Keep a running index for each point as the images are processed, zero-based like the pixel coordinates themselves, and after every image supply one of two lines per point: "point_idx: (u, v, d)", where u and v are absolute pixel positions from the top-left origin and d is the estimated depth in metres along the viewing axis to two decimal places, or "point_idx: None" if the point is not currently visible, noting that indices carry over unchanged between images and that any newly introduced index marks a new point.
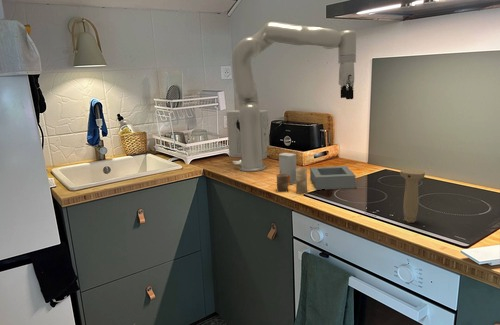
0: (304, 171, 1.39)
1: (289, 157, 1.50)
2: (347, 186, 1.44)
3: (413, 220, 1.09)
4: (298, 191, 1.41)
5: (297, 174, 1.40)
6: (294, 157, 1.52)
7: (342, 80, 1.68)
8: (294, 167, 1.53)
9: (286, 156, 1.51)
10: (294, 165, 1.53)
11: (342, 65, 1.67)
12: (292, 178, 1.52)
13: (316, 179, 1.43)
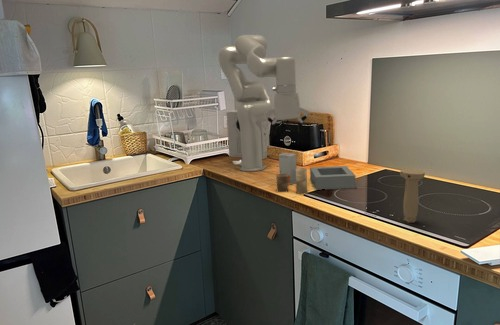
0: (304, 171, 1.39)
1: (289, 157, 1.50)
2: (347, 186, 1.44)
3: (413, 220, 1.09)
4: (298, 191, 1.41)
5: (297, 174, 1.40)
6: (294, 157, 1.52)
7: (295, 113, 1.46)
8: (294, 167, 1.53)
9: (286, 156, 1.51)
10: (294, 165, 1.53)
11: (292, 96, 1.45)
12: (292, 178, 1.53)
13: (316, 179, 1.43)
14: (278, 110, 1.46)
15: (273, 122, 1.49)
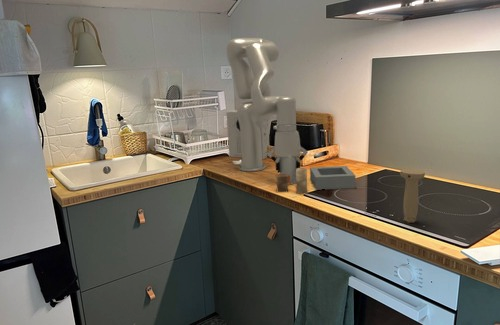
0: (304, 171, 1.39)
1: (289, 157, 1.50)
2: (347, 186, 1.44)
3: (413, 220, 1.09)
4: (298, 191, 1.41)
5: (297, 174, 1.40)
6: (294, 157, 1.52)
7: (295, 151, 1.50)
8: (294, 167, 1.53)
9: None
10: (295, 165, 1.53)
11: (293, 135, 1.48)
12: (292, 178, 1.52)
13: (316, 179, 1.43)
14: (279, 148, 1.50)
15: (276, 161, 1.52)
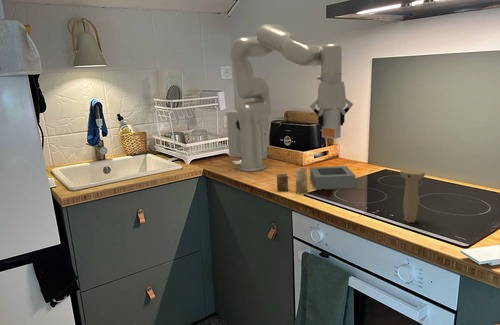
0: (304, 171, 1.39)
1: (334, 109, 1.41)
2: (347, 186, 1.44)
3: (413, 220, 1.09)
4: (298, 191, 1.41)
5: (297, 174, 1.40)
6: (339, 109, 1.43)
7: (340, 102, 1.41)
8: (338, 120, 1.44)
9: None
10: (339, 118, 1.44)
11: (338, 84, 1.40)
12: (336, 132, 1.44)
13: (316, 179, 1.43)
14: (323, 99, 1.41)
15: (320, 114, 1.44)
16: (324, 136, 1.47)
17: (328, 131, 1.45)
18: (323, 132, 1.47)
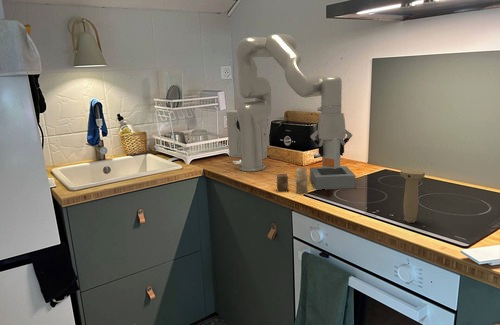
0: (304, 171, 1.39)
1: (334, 140, 1.44)
2: (347, 186, 1.44)
3: (413, 220, 1.09)
4: (298, 191, 1.41)
5: (297, 174, 1.40)
6: (339, 140, 1.46)
7: (340, 133, 1.44)
8: (338, 151, 1.47)
9: None
10: (339, 148, 1.47)
11: (338, 116, 1.43)
12: (336, 162, 1.47)
13: (316, 179, 1.43)
14: (323, 131, 1.44)
15: (320, 144, 1.47)
16: (324, 165, 1.49)
17: (328, 161, 1.48)
18: (323, 162, 1.49)
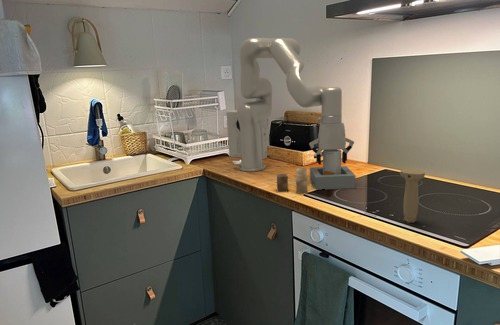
0: (304, 171, 1.39)
1: (334, 153, 1.45)
2: (347, 186, 1.44)
3: (413, 220, 1.09)
4: (298, 191, 1.41)
5: (297, 174, 1.40)
6: (339, 153, 1.47)
7: (340, 143, 1.45)
8: (339, 164, 1.48)
9: (331, 152, 1.46)
10: (339, 162, 1.48)
11: (338, 126, 1.43)
12: None
13: (316, 179, 1.43)
14: (324, 141, 1.45)
15: (318, 152, 1.47)
16: None
17: (329, 174, 1.49)
18: (324, 174, 1.51)
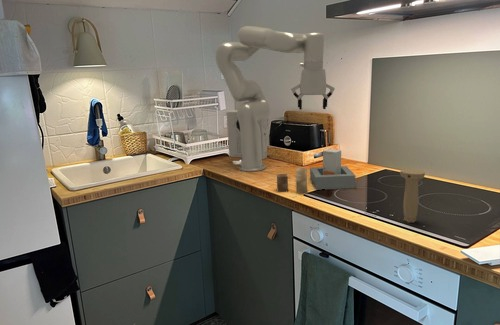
0: (304, 171, 1.39)
1: (334, 153, 1.45)
2: (347, 186, 1.44)
3: (413, 220, 1.09)
4: (298, 191, 1.41)
5: (297, 174, 1.40)
6: (339, 153, 1.47)
7: (321, 88, 1.49)
8: (339, 164, 1.48)
9: (331, 152, 1.46)
10: (339, 162, 1.48)
11: (319, 72, 1.48)
12: None
13: (316, 179, 1.43)
14: (305, 85, 1.49)
15: (299, 97, 1.52)
16: None
17: (329, 174, 1.49)
18: (324, 174, 1.51)
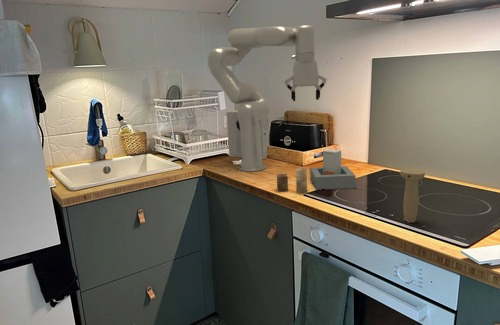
0: (304, 171, 1.39)
1: (334, 153, 1.45)
2: (347, 186, 1.44)
3: (413, 220, 1.09)
4: (298, 191, 1.41)
5: (297, 174, 1.40)
6: (339, 153, 1.47)
7: (313, 79, 1.53)
8: (339, 164, 1.48)
9: (331, 152, 1.46)
10: (339, 162, 1.48)
11: (311, 63, 1.52)
12: None
13: (316, 179, 1.43)
14: (297, 77, 1.53)
15: (292, 89, 1.55)
16: None
17: (329, 174, 1.49)
18: (324, 174, 1.51)
